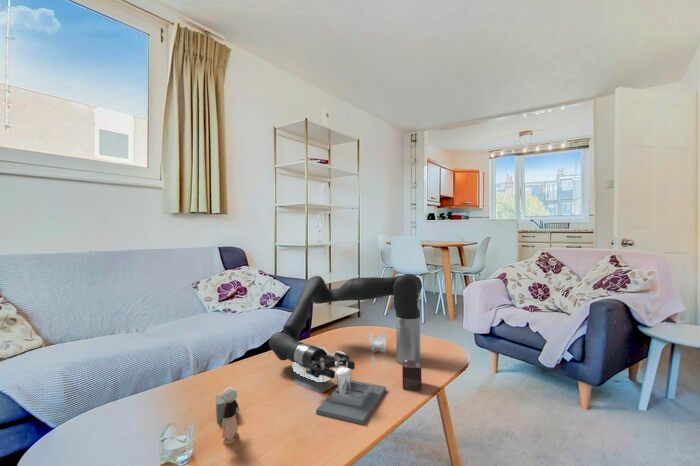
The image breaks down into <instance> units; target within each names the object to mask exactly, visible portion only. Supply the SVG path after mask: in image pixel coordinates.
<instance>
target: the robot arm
mask: <svg viewBox="0 0 700 466" xmlns="http://www.w3.org/2000/svg"><path fill="white" fill-rule="evenodd" d="M422 287H423V283H422V281H421V279H420V278H419V276H417V275H415V274H413V273H407V274H401V275H397V276H389V277H377V276H375V277H355V278H350V279H348V280H346V282H344V283H343V284H342V285H341V286H340V287H338V288H328V286H327V284H326V282H325V280H324V279H323V277H322V276H319V275H316V276H315V275H314V276H312V277H310V278H309V279H307V280H306V282H305V283H304V285H303V287H302V290H301V292H300V294H299V297H298V300H297V302H296V304H295V307H294V309H293V311H292V312H291V314H290V315H289V317H288V318H287V320H286V321H285V323H284V325H283V327H282V330H283V331H279V332H275V333H273V334H272V335H271V336H270V337H269V341H268V345H269V348H270V349H271V350H272V352H273V353H274V354H275V356H276V357H277V359H279V360H280V361H286V360H287V361H288V360H289V361H290V362H292V363H294V362H296V363H295V364H297V363H298V364H297V365H298V366H300V367H302V368H304V369H305V373H307V374H308V375H310V376H313V377H314V378H319V377H320V376H321V377H327V378H330V379H335V378H336V371H335V370H334V369H335V368H336V369H339V368H341V367H344V368H346V362H347V361H348V367H347V368H349V369H350V370H351V371H352V370H355V368H356V367H355V366H356V365H355V362H354V361H352V360H350V355H347V354H344V353H340V352H337V351H335V352H334V355H331V354H327V352H326V350H325V349H323V348H321V347H317V346H315V345H312V344H308V343H306V342H302V341H300V340H299V339H300V334H301V332H302V331H303V329H304V327H305V325H306V324H307V321H308V317H309V312H310V308H311V302H312V303H313V304H319V305H321V304H326V303H334V302H343V301H346V302H347V301H366V300H369V301H370V300H374V299H378V298H382V297H388V296H392V297H393V309H394V312H395V330H396V331H395V338H396V339H395V341H396V344H395V345H396V347H395V348H396V354H395V355H396V356H395V357H396V362H398V363H399V364H401V365H403V360H413V361H421V311H420V308H419V306H418V294H420V293H421V290H422ZM421 362H422V361H421ZM331 368H333V369H331Z"/></svg>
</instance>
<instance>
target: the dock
mask: <svg viewBox="0 0 700 466" xmlns="http://www.w3.org/2000/svg"><path fill="white" fill-rule="evenodd" d="M386 390H387V386H385V385H379V384H373V383H367V382H362V381H356V380H352V379H351V389H350V395H347V394H341V393H338V386H337V387H336V388H335V390H333V391H332V392H331V393H330V395H329V396H328V397H327V398H326V399H325V400H323V402H322V403H320V405H319V406H318V407H317V408H316V411H315V413H316V415H320V416H325V417H328V418H334V419H337V420H342V421H346V422H349V423H350V422H351V423H353V424H357V425H358V424H359V425H363V426H364V424H365V423H366V421H367V420H368V418H369V416H370V415H371V413H372V412H373V411H374V410H375V408H376V406H377V404H378V403H379V401H380V400H381V399H382V397H383V396H384V395H385V392H386Z"/></svg>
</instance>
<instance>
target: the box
mask: <svg viewBox="0 0 700 466" xmlns="http://www.w3.org/2000/svg"><path fill="white" fill-rule="evenodd" d="M401 366H402V368H401V369H402V370H401V371H402V372H401V373H402V377H401V378H402V389H403V390H409V391H410V390H411V391H422V389H423V388H422V385H423V383H422V361H413V360H403V364H401Z"/></svg>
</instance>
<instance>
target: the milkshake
mask: <svg viewBox="0 0 700 466" xmlns="http://www.w3.org/2000/svg"><path fill="white" fill-rule="evenodd" d="M347 367H348V361H347V362H346V367H345V366H341V367H339V368H337V370H336V371H335V376H336V383H337V387H338V393H341V394H347V395H350V389H351V380H352V375H353V374H352V373H353V372H352V369H349V368H347Z"/></svg>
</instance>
